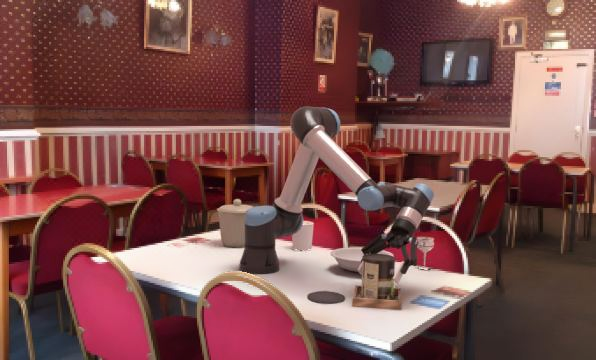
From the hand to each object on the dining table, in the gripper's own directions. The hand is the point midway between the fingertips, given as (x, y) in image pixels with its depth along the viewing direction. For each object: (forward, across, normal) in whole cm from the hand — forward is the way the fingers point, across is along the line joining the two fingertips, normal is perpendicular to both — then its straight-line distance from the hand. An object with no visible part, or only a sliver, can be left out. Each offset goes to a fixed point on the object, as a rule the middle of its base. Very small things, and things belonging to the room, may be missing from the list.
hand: (377, 276), depth 180 cm
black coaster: (+12, +13, +1) cm, 18 cm away
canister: (-10, +94, -21) cm, 96 cm away
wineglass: (-30, +14, -41) cm, 53 cm away
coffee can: (+5, 0, -6) cm, 8 cm away
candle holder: (-22, +69, -33) cm, 80 cm away
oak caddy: (+5, 0, -6) cm, 8 cm away
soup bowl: (-14, +28, -26) cm, 40 cm away
